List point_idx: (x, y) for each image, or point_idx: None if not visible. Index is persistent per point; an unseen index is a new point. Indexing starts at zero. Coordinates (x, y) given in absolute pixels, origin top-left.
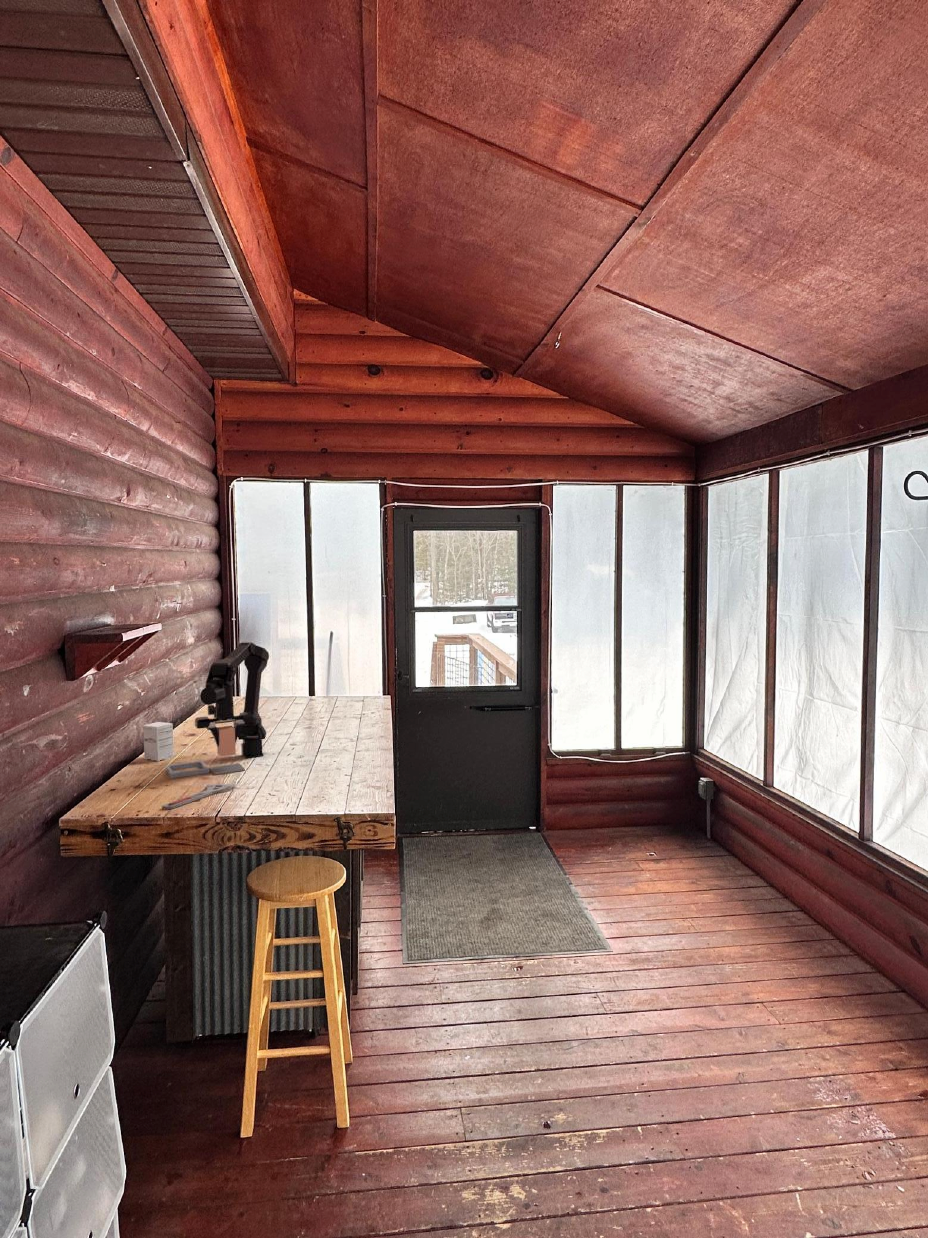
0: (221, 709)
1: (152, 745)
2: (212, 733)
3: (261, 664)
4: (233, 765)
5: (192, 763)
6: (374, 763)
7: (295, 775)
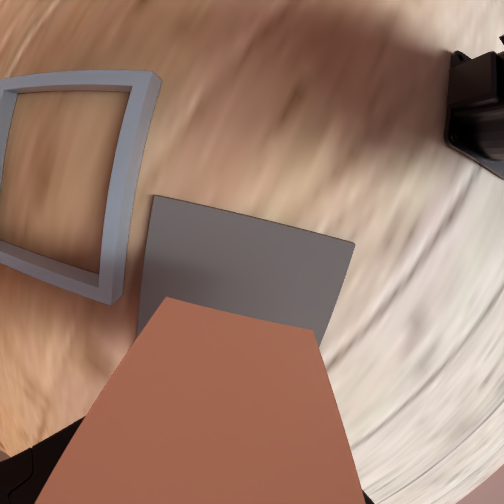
0: None
1: None
2: (2, 480)
3: None
4: (299, 275)
5: (90, 85)
6: (501, 461)
7: None
